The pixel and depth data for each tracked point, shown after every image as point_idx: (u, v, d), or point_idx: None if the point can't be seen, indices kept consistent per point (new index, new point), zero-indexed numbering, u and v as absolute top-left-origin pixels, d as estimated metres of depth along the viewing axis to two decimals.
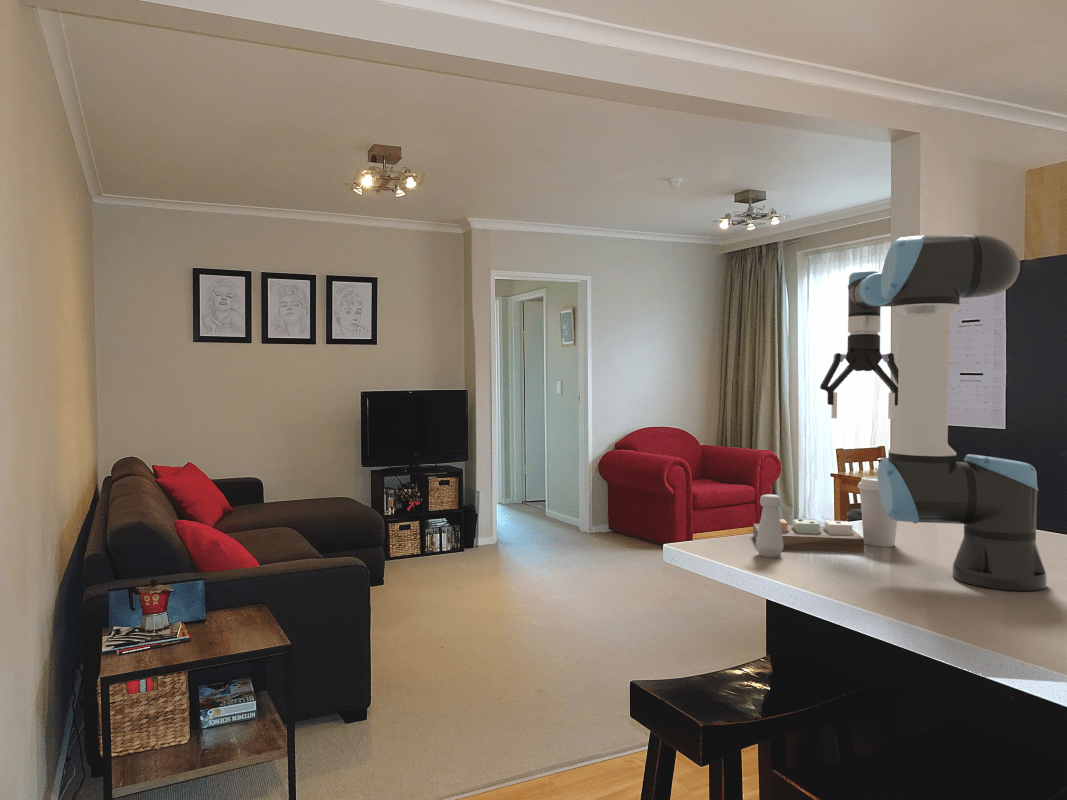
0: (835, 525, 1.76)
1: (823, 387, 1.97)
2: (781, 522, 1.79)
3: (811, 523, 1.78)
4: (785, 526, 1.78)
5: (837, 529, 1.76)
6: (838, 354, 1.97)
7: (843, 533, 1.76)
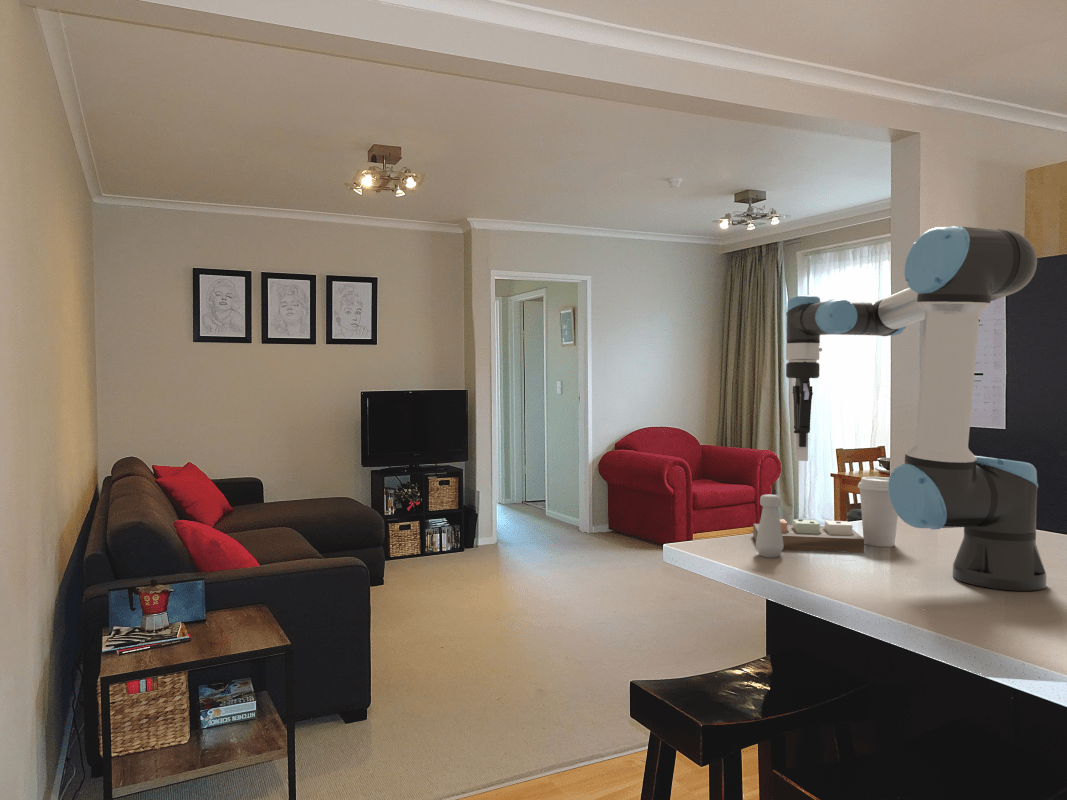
0: (835, 525, 1.76)
1: (794, 427, 1.90)
2: (781, 522, 1.79)
3: (811, 523, 1.78)
4: (785, 526, 1.78)
5: (837, 529, 1.76)
6: (793, 392, 1.93)
7: (843, 533, 1.76)
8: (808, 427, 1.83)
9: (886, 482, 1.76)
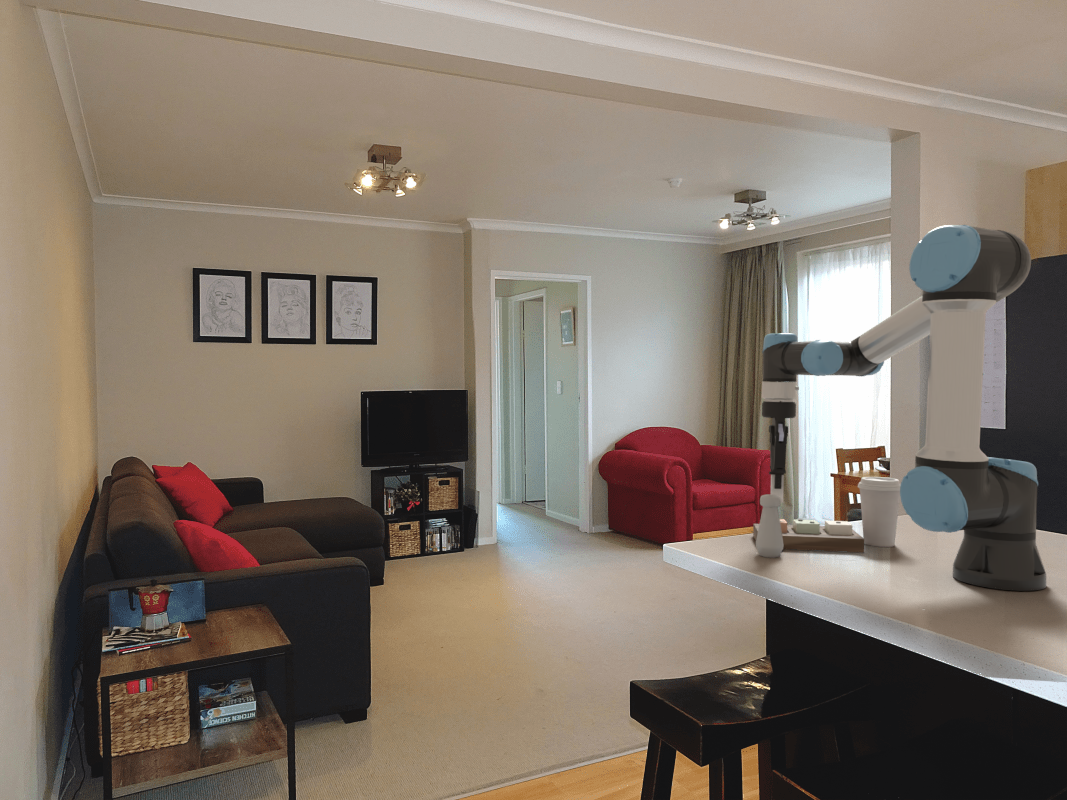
0: (835, 525, 1.76)
1: (770, 467, 1.85)
2: (781, 522, 1.79)
3: (811, 523, 1.78)
4: (785, 526, 1.78)
5: (837, 529, 1.76)
6: None
7: (843, 533, 1.76)
8: (783, 469, 1.78)
9: (886, 482, 1.76)
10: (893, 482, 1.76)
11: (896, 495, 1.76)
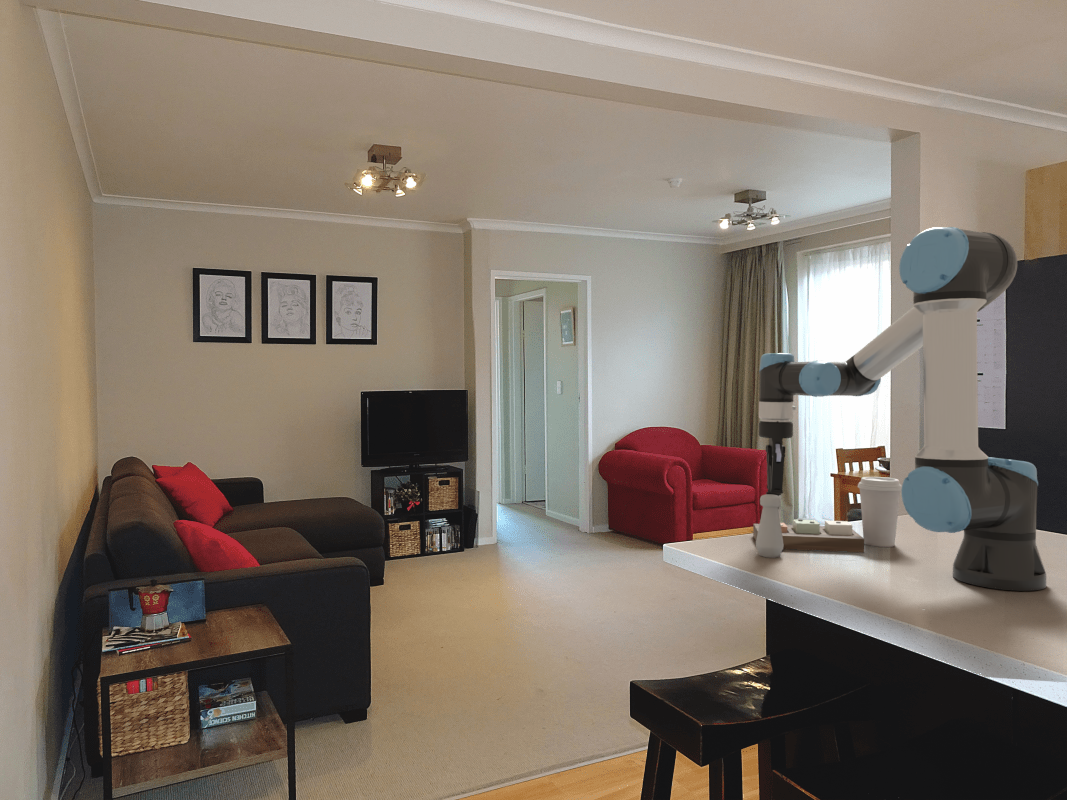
0: (835, 525, 1.76)
1: (767, 487, 1.84)
2: (781, 526, 1.79)
3: (811, 523, 1.78)
4: (785, 530, 1.78)
5: (837, 529, 1.76)
6: None
7: (843, 533, 1.76)
8: (780, 489, 1.77)
9: (886, 482, 1.76)
10: (893, 482, 1.76)
11: (896, 495, 1.76)
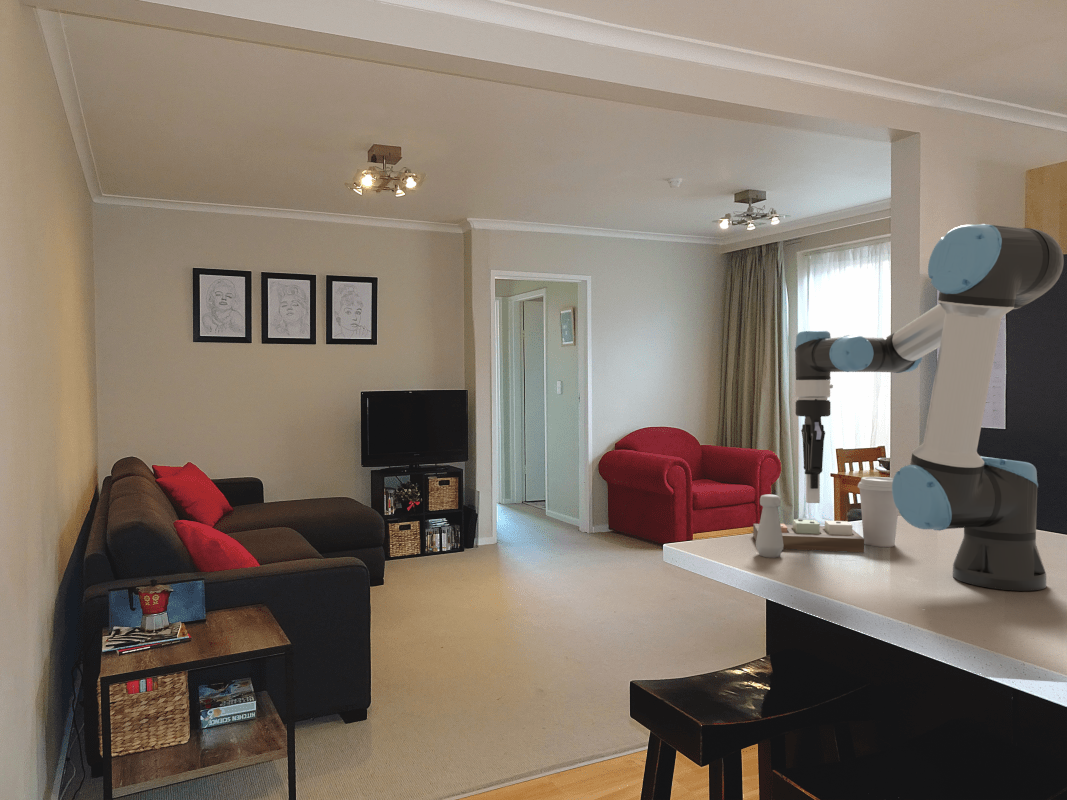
0: (835, 525, 1.76)
1: (804, 467, 1.82)
2: (781, 527, 1.79)
3: (811, 523, 1.78)
4: (785, 531, 1.78)
5: (837, 529, 1.76)
6: (801, 430, 1.85)
7: (843, 533, 1.76)
8: (820, 468, 1.75)
9: (886, 482, 1.76)
10: None
11: None
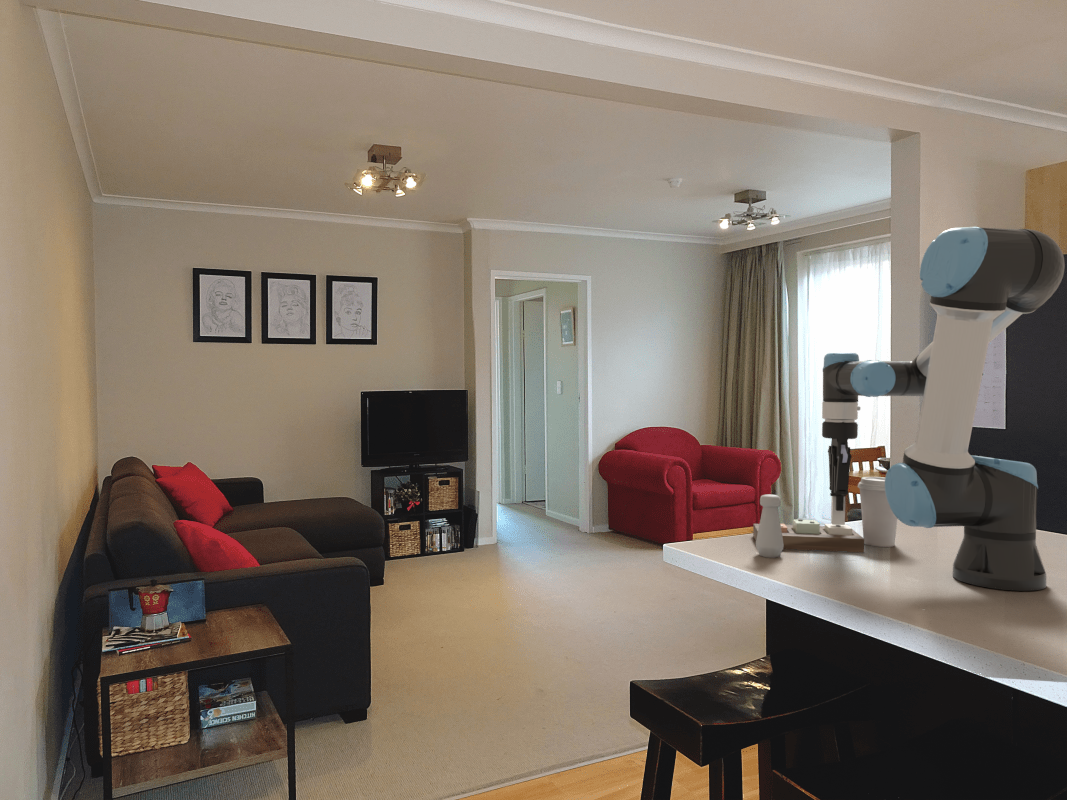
0: (835, 528, 1.76)
1: (829, 488, 1.82)
2: (781, 527, 1.79)
3: (811, 523, 1.78)
4: (785, 531, 1.78)
5: (836, 532, 1.76)
6: (828, 450, 1.84)
7: None
8: (846, 491, 1.75)
9: None
10: None
11: None
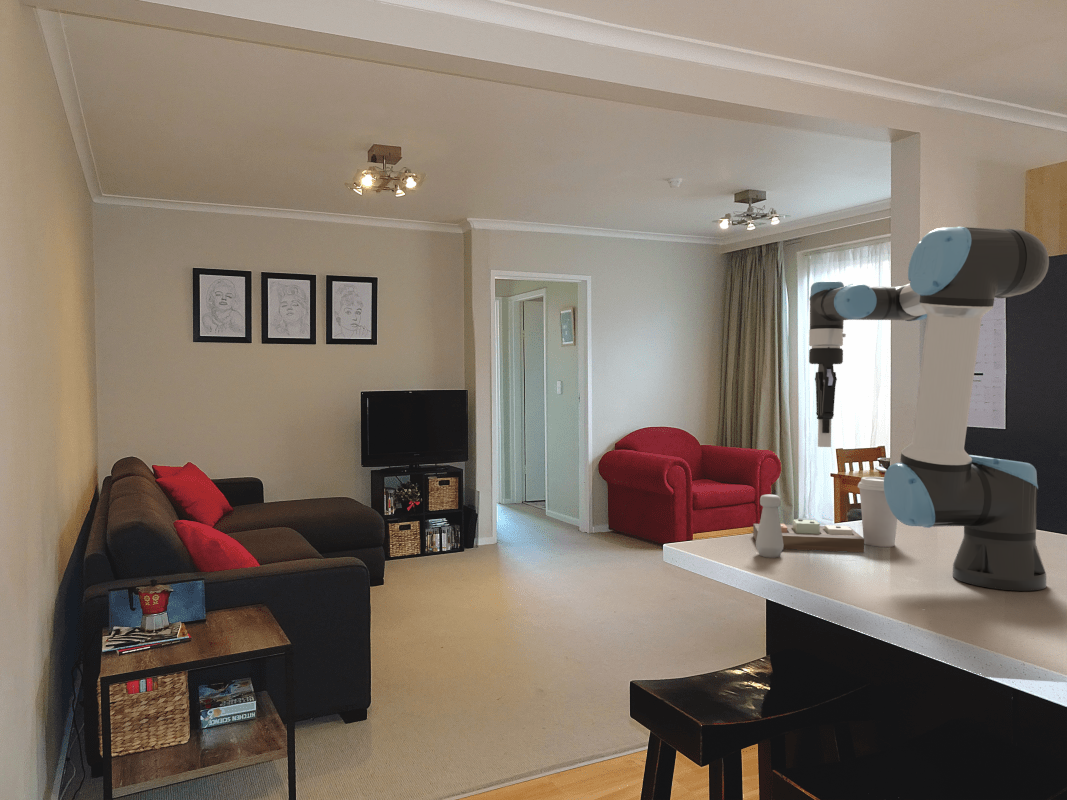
0: (835, 530, 1.76)
1: (816, 413, 1.90)
2: (781, 527, 1.79)
3: (811, 523, 1.78)
4: (785, 531, 1.78)
5: (836, 534, 1.76)
6: (815, 378, 1.92)
7: None
8: (832, 413, 1.83)
9: None
10: None
11: None
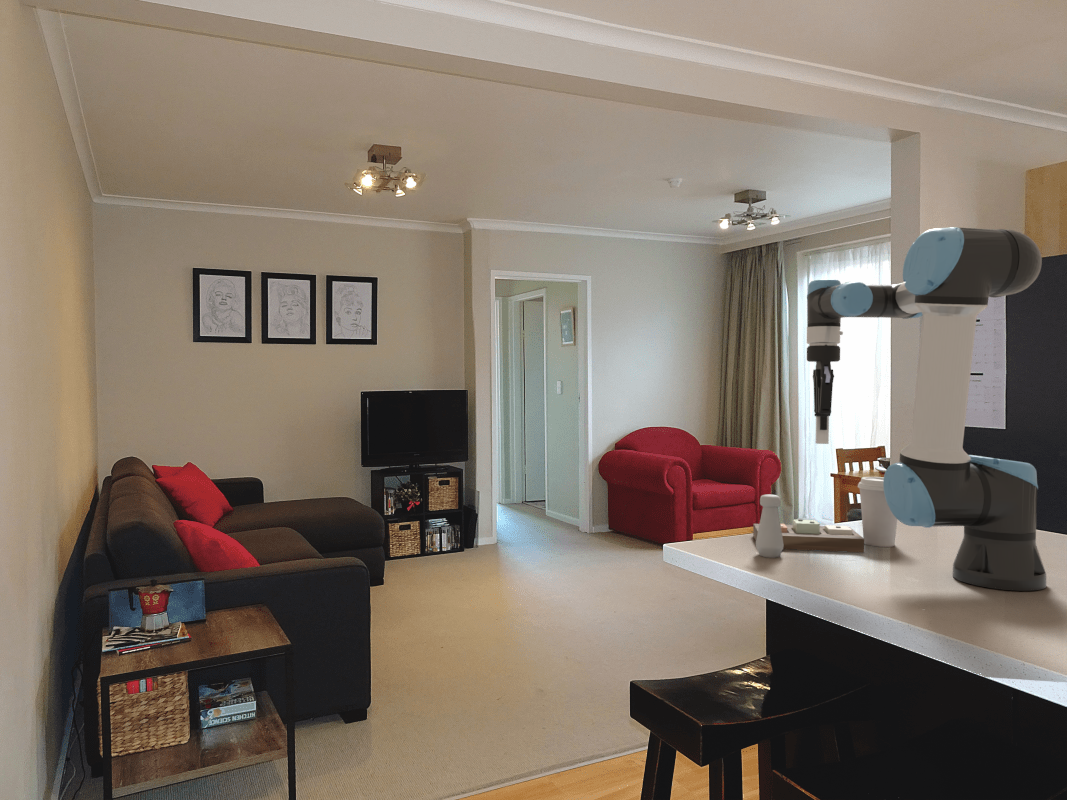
0: (835, 530, 1.76)
1: (814, 411, 1.91)
2: (781, 527, 1.79)
3: (811, 523, 1.78)
4: (785, 531, 1.78)
5: (836, 534, 1.76)
6: (813, 376, 1.94)
7: None
8: (829, 410, 1.84)
9: None
10: None
11: None
